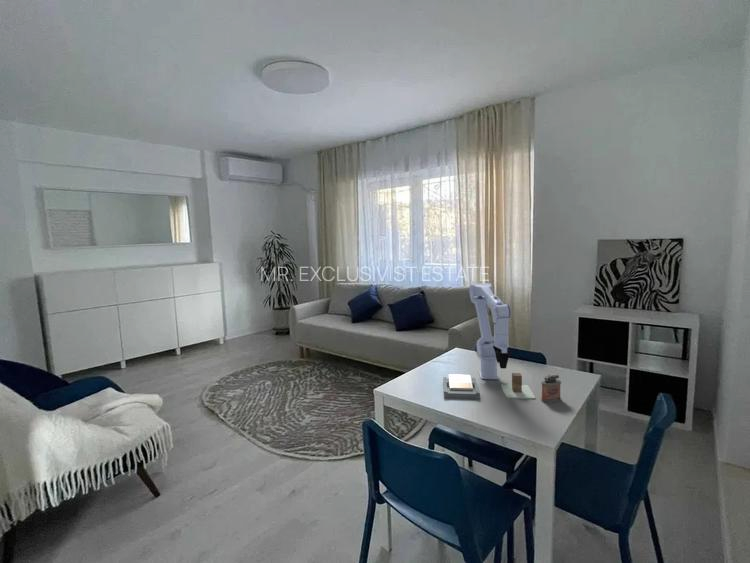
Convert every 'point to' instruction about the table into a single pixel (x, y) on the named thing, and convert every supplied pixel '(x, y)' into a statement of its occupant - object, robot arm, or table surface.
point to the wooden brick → (516, 382)
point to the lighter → (551, 389)
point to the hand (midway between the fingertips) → (501, 365)
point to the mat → (524, 394)
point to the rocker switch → (460, 382)
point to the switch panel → (461, 391)
